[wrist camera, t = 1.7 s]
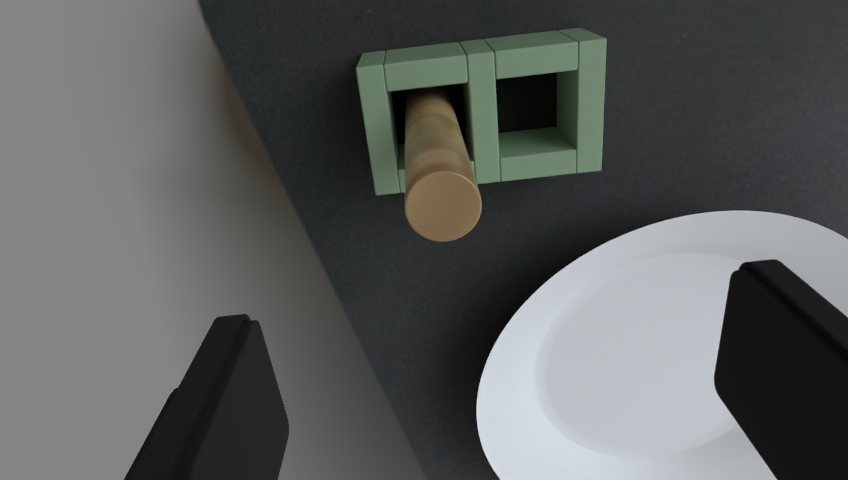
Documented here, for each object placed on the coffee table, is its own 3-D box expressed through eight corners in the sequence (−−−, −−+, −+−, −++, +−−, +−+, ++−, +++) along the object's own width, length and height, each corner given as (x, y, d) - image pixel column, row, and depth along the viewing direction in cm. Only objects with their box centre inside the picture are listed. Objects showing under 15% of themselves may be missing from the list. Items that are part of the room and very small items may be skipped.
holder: (379, 167, 30) (375, 196, 27) (361, 52, 28) (355, 67, 24) (578, 145, 30) (601, 170, 27) (580, 27, 27) (607, 38, 24)
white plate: (475, 502, 43) (480, 546, 40) (464, 201, 31) (470, 229, 28) (803, 479, 43) (835, 521, 39) (911, 168, 31) (969, 193, 28)
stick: (408, 131, 29) (409, 246, 18) (402, 85, 28) (400, 176, 17) (453, 126, 29) (484, 238, 18) (449, 80, 28) (479, 167, 17)
